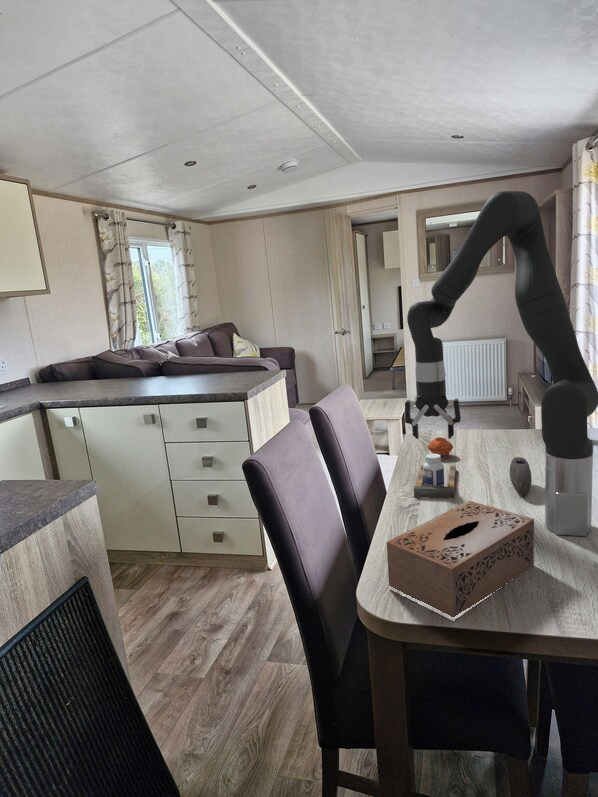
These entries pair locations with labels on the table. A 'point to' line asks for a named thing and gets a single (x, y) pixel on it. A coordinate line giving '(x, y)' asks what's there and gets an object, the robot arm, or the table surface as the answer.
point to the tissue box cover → (461, 556)
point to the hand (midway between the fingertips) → (433, 438)
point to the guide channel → (435, 490)
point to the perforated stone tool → (520, 475)
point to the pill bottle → (433, 471)
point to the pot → (440, 446)
